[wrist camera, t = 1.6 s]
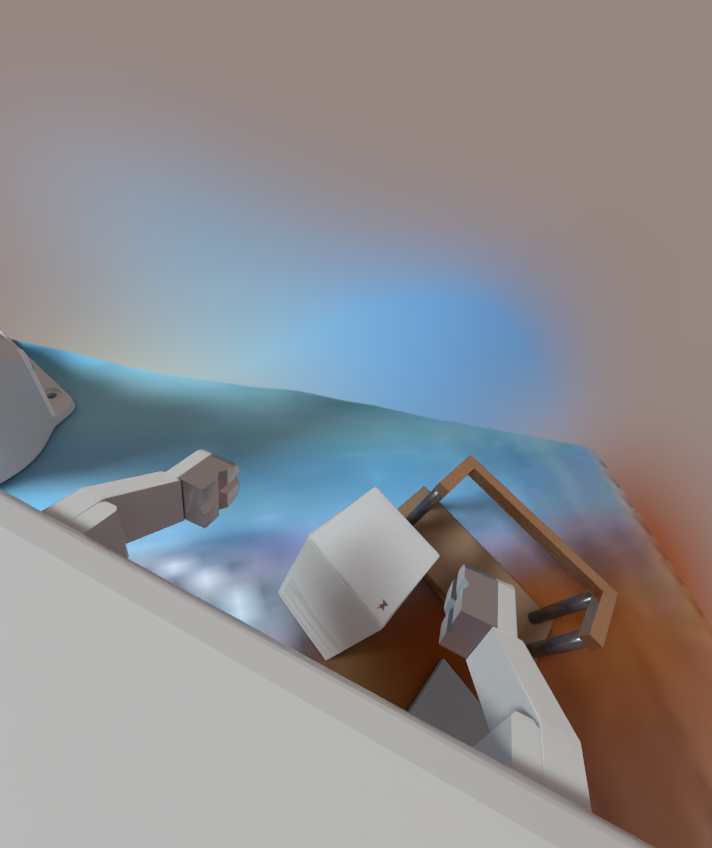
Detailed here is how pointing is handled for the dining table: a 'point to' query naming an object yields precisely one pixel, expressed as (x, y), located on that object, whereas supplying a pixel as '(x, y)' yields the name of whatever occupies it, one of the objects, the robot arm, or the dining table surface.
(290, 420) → the dining table surface
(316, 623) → the supplement box
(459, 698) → the mat
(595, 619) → the wooden post stand
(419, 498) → the brown board
